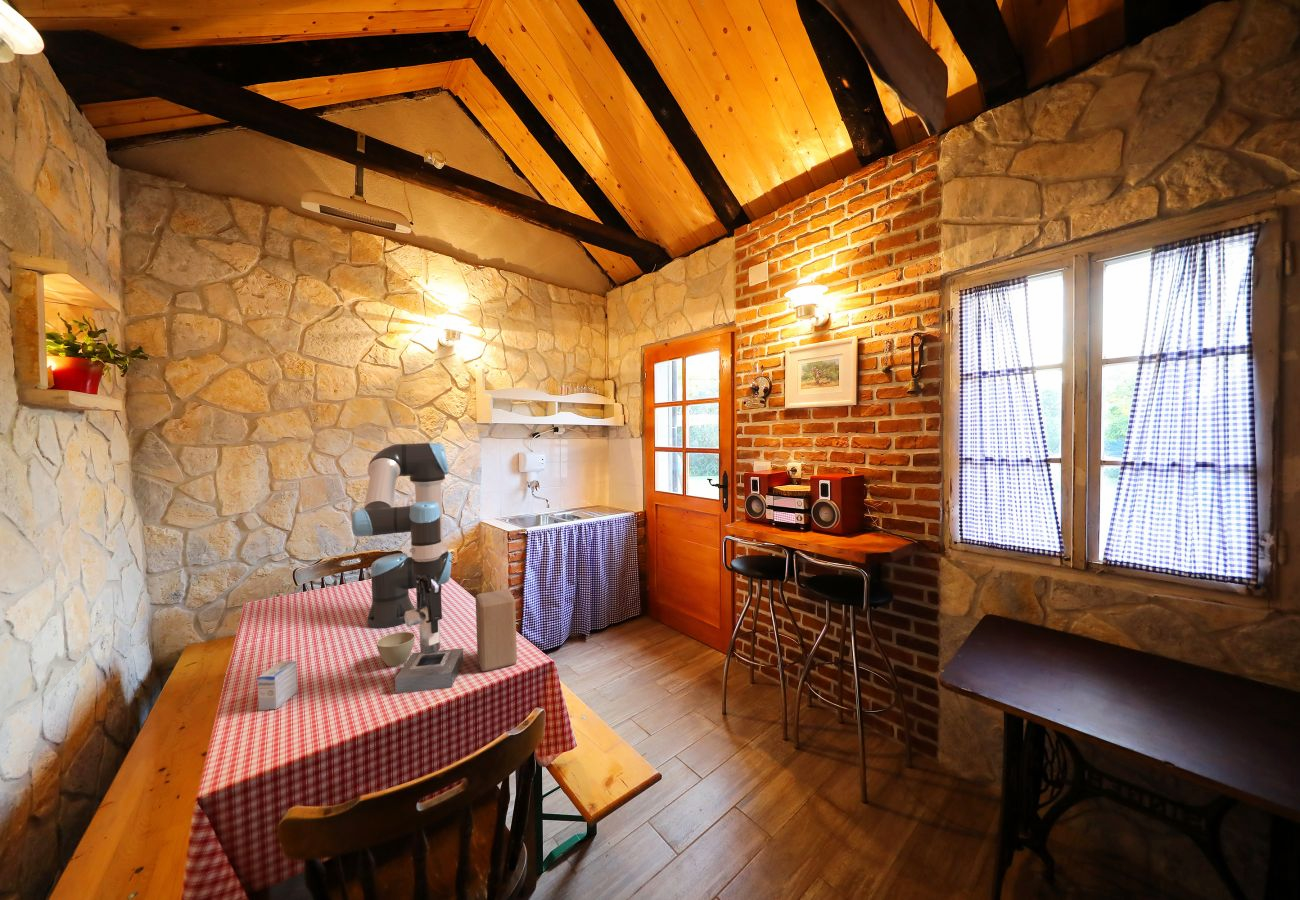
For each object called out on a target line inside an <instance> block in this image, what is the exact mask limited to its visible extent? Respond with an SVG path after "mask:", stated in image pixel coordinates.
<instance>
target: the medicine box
mask: <svg viewBox="0 0 1300 900" xmlns="http://www.w3.org/2000/svg"><path fill="white" fill-rule="evenodd" d="M297 664H298V663H297V661H296V660H290V661H289V660H286V661H278V662H276V664H275V665H273V666H272V667H269V668H268V669H267V670H266V671H264V672H263V673H261V674H260V675H259V676H258V677H257V679H256V680H257V697H258V700H257V701H258V702H257V703H258V710H259V711H270V710H269V709H275V710H278V709H279V708H280V707H282V705H284V704H285V703H286V702H287V701H289V699H291V698H292V696H294V695H295V694H296V693H298V691H299V686H298V665H297ZM277 708H278V709H277Z"/></svg>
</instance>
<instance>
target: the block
mask: <svg viewBox="0 0 1300 900" xmlns="http://www.w3.org/2000/svg"><path fill="white" fill-rule="evenodd" d="M516 615H517V614H516V600H515V598H514V595H513V594H512V593H511V590H510V589H507V588H506V589H505V588H504V589H498V590H494V591H493V590H492V591H488V592H482V593H478V594H476V595H475V617H476V619H475V622H476V646H477V647H476V650H477V653H476V654H477V660H478V663H479V666H480V670H481V671H482V672H489V671H492V670H496V669H501V668H504V667H505V668H506V667H509V666H512V665H515V664H517V661H518V649H517V619H516V617H517V616H516Z"/></svg>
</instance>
